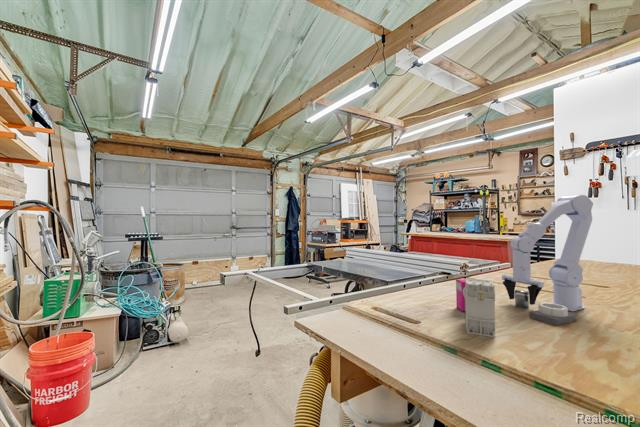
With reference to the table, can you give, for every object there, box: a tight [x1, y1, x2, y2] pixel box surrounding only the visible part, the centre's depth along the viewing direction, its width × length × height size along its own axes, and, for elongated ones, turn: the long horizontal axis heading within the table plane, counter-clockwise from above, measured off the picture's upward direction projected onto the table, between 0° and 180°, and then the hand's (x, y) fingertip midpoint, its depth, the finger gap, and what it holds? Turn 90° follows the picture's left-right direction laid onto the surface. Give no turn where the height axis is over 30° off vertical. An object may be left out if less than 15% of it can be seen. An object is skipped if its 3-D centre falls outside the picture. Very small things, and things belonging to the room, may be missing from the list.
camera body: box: [529, 302, 577, 326], centre depth 99 cm, size 12×8×4 cm, turn 115°
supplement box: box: [455, 278, 466, 313], centre depth 108 cm, size 6×6×12 cm
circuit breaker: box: [464, 278, 496, 338], centre depth 92 cm, size 8×14×15 cm, turn 155°
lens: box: [514, 289, 530, 309], centre depth 113 cm, size 4×4×6 cm
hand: (521, 301), depth 113 cm, fingers open, 7 cm apart
